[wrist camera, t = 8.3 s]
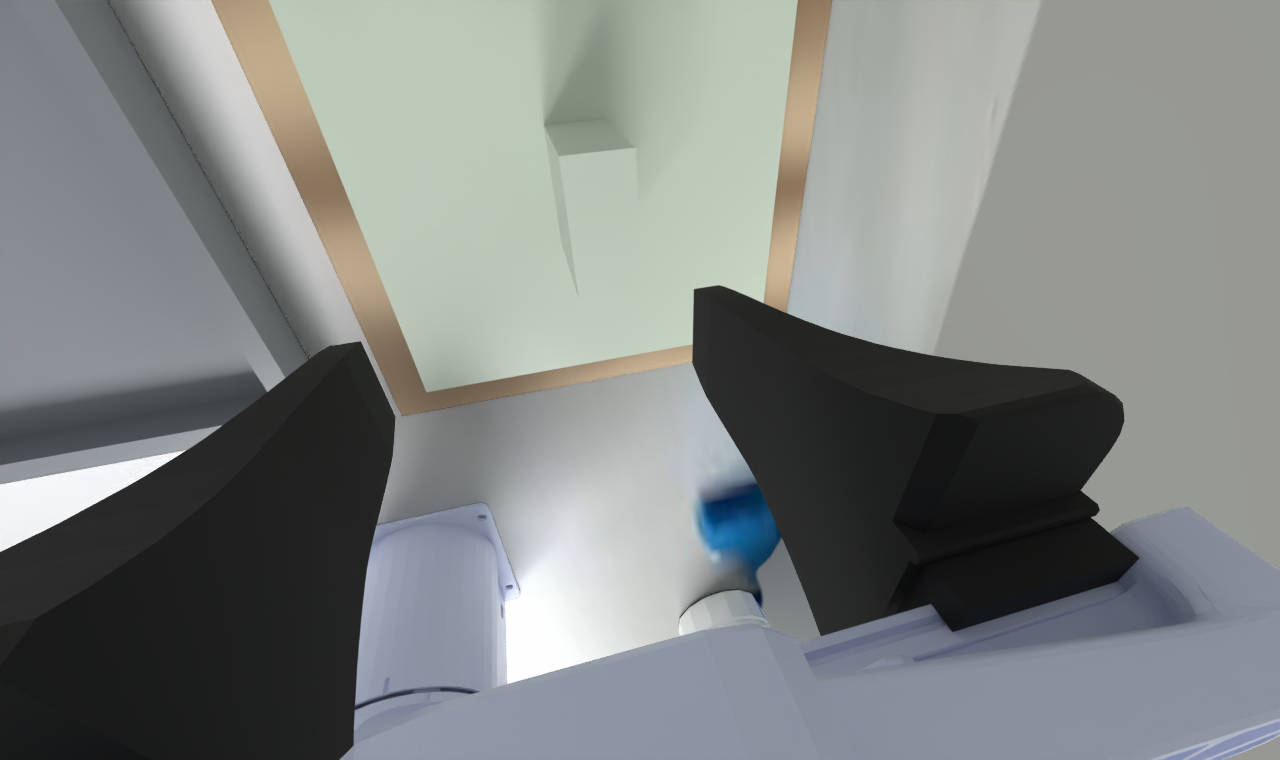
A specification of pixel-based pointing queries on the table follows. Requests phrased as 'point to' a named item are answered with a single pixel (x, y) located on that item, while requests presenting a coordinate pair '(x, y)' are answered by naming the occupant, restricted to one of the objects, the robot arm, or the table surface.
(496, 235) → the lid
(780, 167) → the mat
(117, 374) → the shallow grey tray
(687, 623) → the white cup
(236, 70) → the table surface
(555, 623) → the table surface
